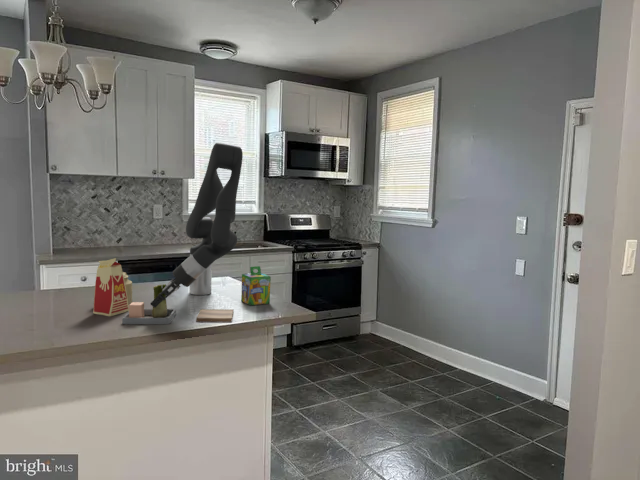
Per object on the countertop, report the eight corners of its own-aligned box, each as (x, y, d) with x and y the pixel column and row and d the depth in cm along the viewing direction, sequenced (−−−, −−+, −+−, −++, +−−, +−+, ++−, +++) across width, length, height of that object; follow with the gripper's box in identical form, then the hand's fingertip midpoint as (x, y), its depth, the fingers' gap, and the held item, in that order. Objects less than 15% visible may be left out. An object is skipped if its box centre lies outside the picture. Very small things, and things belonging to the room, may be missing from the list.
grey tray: (132, 314, 168) (132, 308, 167) (175, 314, 170) (175, 309, 169) (122, 323, 156) (122, 318, 156) (169, 324, 158) (169, 318, 158)
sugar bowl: (97, 299, 186) (97, 262, 185) (127, 297, 192) (127, 261, 191) (103, 308, 174) (103, 268, 172) (135, 305, 180) (135, 267, 178)
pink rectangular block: (132, 319, 162) (132, 302, 161) (144, 319, 162) (144, 302, 162) (129, 322, 158) (128, 305, 157) (141, 322, 159) (141, 305, 158)
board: (200, 312, 174) (200, 309, 174) (233, 312, 175) (233, 309, 175) (196, 321, 162) (196, 318, 162) (231, 321, 163) (231, 318, 163)
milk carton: (129, 310, 172) (129, 257, 170) (110, 316, 164) (110, 260, 162) (109, 307, 175) (109, 254, 173) (90, 313, 167) (89, 258, 165)
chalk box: (249, 306, 186) (250, 269, 184) (240, 301, 193) (241, 265, 192) (270, 303, 191) (271, 268, 189) (260, 299, 198) (261, 264, 197)
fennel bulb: (164, 315, 168) (164, 282, 167) (170, 318, 164) (170, 285, 163) (148, 318, 164) (148, 284, 163) (154, 321, 160) (154, 286, 159)
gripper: (185, 259, 170) (151, 291, 170) (178, 266, 156) (141, 301, 156) (200, 274, 171) (166, 305, 171) (194, 282, 157) (157, 316, 157)
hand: (154, 303), depth 163 cm, fingers closed on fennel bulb, 5 cm apart
